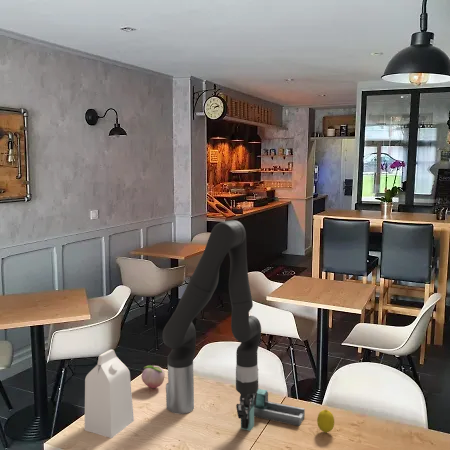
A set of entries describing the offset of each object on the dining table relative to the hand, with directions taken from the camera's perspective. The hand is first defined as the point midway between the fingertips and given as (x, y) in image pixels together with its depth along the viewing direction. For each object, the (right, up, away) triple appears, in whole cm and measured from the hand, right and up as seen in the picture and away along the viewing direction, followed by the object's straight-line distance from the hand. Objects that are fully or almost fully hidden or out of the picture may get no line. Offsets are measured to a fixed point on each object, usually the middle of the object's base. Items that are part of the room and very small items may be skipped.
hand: (247, 424), depth 164 cm
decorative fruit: (-36, +2, +30) cm, 47 cm away
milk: (-47, -2, +2) cm, 47 cm away
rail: (+11, 0, +7) cm, 13 cm away
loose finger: (0, -1, 0) cm, 1 cm away
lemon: (+26, -1, -4) cm, 26 cm away
